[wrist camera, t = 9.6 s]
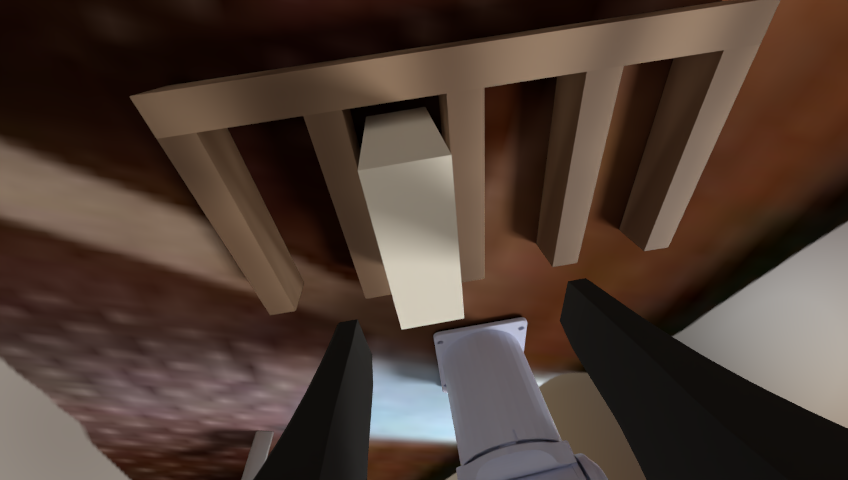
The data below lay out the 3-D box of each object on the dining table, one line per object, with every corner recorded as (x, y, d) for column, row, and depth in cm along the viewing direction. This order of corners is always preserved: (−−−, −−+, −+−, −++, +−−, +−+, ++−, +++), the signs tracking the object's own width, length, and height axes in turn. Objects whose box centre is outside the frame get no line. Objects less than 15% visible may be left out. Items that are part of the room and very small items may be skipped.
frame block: (440, 235, 20) (464, 318, 14) (395, 242, 20) (401, 329, 14) (424, 106, 15) (451, 154, 9) (366, 116, 15) (357, 170, 9)
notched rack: (723, 1, 14) (782, -4, 12) (641, 226, 21) (668, 247, 19) (167, 85, 13) (129, 96, 11) (281, 286, 21) (270, 315, 19)
